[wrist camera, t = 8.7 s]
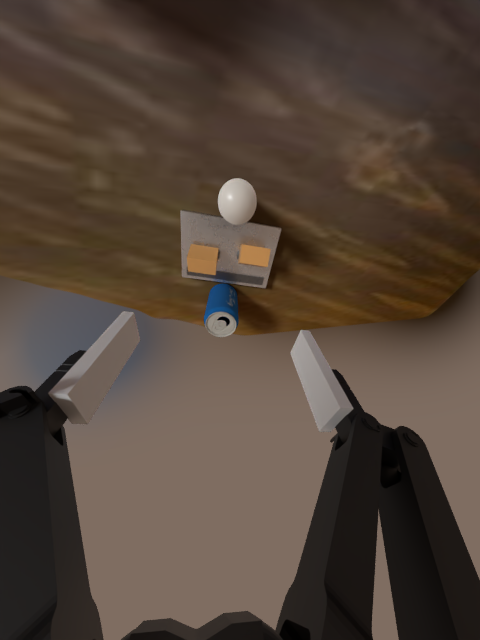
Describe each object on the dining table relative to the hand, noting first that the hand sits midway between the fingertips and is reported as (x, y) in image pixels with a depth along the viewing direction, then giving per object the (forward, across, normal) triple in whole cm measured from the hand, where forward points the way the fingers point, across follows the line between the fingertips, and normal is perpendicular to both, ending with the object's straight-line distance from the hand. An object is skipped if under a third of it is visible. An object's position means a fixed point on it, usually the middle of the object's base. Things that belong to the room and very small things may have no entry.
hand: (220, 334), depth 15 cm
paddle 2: (+25, +5, 0) cm, 25 cm away
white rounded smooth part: (+27, 0, +9) cm, 28 cm away
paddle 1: (+25, -4, 0) cm, 25 cm away
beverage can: (+27, 0, -10) cm, 29 cm away
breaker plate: (+27, 0, 0) cm, 27 cm away
